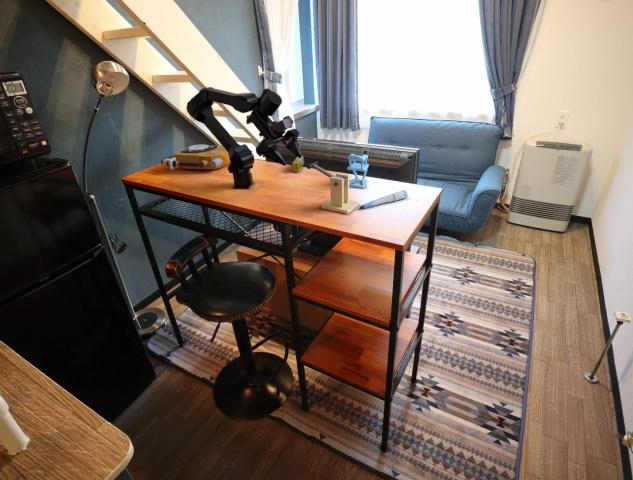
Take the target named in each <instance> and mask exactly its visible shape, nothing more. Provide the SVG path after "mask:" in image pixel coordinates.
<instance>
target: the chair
mask: <svg viewBox="0 0 633 480" xmlns="http://www.w3.org/2000/svg"><path fill="white" fill-rule="evenodd" d="M368 158H369V155H367V154H363V155H359V154H355V153H350V154H349V155H348V157H347V160H348V163H349V165H348V166H347V168H346V170H347V171H352V172H353V173H352V174H354V177H355V178H353V179H351V180H349V188H358V189H365V188H366V175H367V172H368V170H369V169H368V168H369V167H370V164H369V163H368ZM357 171H358V172H363V175H362V178H361V184H355V183H356V182H358V181H359V180H360V179H359V178H360V177H359V176H358V173H357Z"/></svg>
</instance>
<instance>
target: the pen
mask: <svg viewBox="0 0 633 480" xmlns="http://www.w3.org/2000/svg"><path fill="white" fill-rule="evenodd" d="M408 197H409V195H408V190H406V189H405V190H400V191H396V192H393V193H390V194H388V195H385V196H381V197H380V198H377V199H373V200H370V201H368V202H365V203H364V204H362V205H360V206H359V207H358V208H359V209H366V208H371V207H375V206H379V205H382V204H385V203H393V202H397V201H400V200H403V199H406V198H408Z"/></svg>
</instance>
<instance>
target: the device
mask: <svg viewBox="0 0 633 480" xmlns="http://www.w3.org/2000/svg"><path fill="white" fill-rule="evenodd" d="M230 163H231V161H230V160H229V155H228V152H227V150H226V149H225V148H224V147H223V146H222V145H221V144H220V145H219V144H210V145H209V144H194V145H190V146H189V147H187V148H184V149H182V150H180V151H178V152H176V153H174V155H172V156H171V155H170V156H166V157H165V158H162V159H160V165H162V166H163V167H165V168H167V169H169V170H175V169H176V168H177V169H185V170H186V169H187V170H217V169H220V168H223V167H225V166H227V165H230Z"/></svg>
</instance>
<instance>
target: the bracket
mask: <svg viewBox="0 0 633 480" xmlns="http://www.w3.org/2000/svg"><path fill="white" fill-rule="evenodd" d="M339 175H340V176H341V177H343V178H345V179H346V181H345V183H344V179H343V178H337V176H339ZM335 176H336V177H330V178H329V185H330V186H329V187H330V188H329V190H330V197H329V198H328V199H327V200H326V201H325V202H323V203H322V204H321V205H320V208H321V209H322V210H323V209H324V210H328V211H332V212H336V213H342V214H346V215H349V214H350V213H351V212H352V211H353V210H355V209H356V208H357V207H358V206H359V201H356V200H352V199H350V187H349V181H350V174H347V173H341V172H336V174H335Z"/></svg>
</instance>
